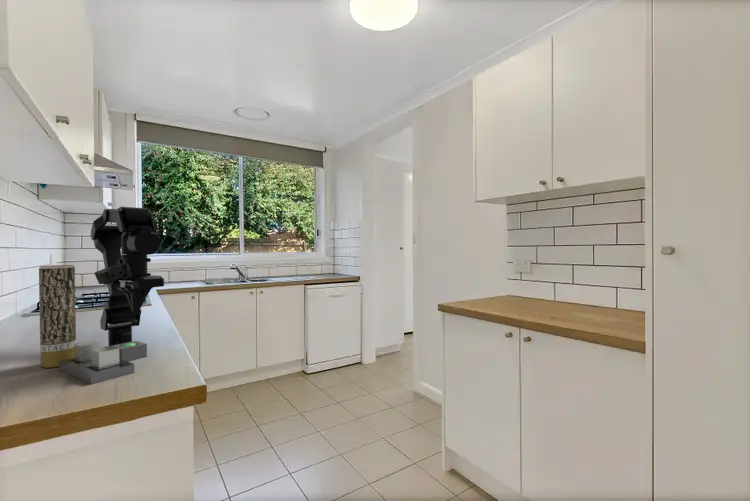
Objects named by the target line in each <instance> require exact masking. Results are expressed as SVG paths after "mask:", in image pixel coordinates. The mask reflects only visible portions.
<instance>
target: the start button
mask: <svg viewBox="0 0 750 501" xmlns="http://www.w3.org/2000/svg"><path fill="white" fill-rule="evenodd" d="M134 345H136V343H126V344H123V345H122V347H129V346H134Z"/></svg>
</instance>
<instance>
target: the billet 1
mask: <svg viewBox="0 0 750 501" xmlns="http://www.w3.org/2000/svg"><path fill="white" fill-rule="evenodd" d="M98 348H101V342H100V341H97V340H95V339H94V340H89V341H88V340H87V341H82V342H79V343H77V342H76V344H74V361H75V363H77V364H81V363H85V362H90V361H92V357H91V350H94V349H98Z"/></svg>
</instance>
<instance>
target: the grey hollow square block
mask: <svg viewBox="0 0 750 501" xmlns="http://www.w3.org/2000/svg"><path fill="white" fill-rule="evenodd" d="M128 343H136V345H134V346H129V347H122V345H123V344H126V343H123V344H118V345H113V346H114V347H117V348H119V359H121V360H124V361H127V362H131V361H136V360H139V359H143V358H147V357H148V347H147V346H148V345H147V343H145V342H142V341H138V340H132V342H128Z"/></svg>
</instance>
